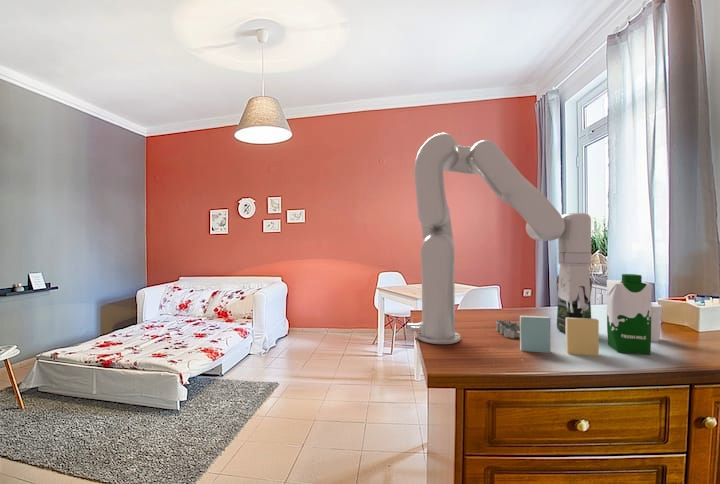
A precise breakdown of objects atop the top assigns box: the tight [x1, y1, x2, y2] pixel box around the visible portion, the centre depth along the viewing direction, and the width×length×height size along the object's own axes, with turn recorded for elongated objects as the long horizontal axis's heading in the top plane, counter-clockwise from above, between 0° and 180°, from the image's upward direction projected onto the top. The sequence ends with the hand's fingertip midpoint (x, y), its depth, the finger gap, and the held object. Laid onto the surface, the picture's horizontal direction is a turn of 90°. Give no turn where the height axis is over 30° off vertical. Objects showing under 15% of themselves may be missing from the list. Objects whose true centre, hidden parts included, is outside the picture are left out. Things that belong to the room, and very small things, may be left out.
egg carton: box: [495, 319, 520, 339], centre depth 107 cm, size 10×7×4 cm
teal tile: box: [519, 315, 552, 354], centre depth 91 cm, size 7×2×9 cm, turn 76°
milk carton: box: [606, 273, 653, 356], centre depth 91 cm, size 9×9×20 cm
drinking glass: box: [651, 302, 663, 343], centre depth 101 cm, size 7×7×10 cm
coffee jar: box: [556, 274, 593, 334], centre depth 108 cm, size 10×8×19 cm
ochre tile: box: [564, 317, 600, 356], centre depth 89 cm, size 7×2×9 cm, turn 76°
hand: (574, 326), depth 93 cm, fingers closed
